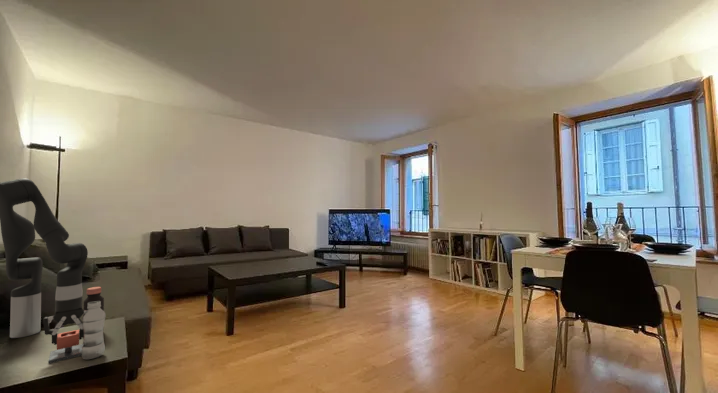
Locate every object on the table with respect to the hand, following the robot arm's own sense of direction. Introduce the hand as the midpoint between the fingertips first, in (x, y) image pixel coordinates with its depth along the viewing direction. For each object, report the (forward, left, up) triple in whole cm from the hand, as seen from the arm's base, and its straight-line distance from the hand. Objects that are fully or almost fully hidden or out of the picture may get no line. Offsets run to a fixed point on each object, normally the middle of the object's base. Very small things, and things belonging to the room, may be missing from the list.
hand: (68, 341), depth 117 cm
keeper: (0, 0, -5) cm, 5 cm away
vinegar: (-18, +8, -5) cm, 20 cm away
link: (0, 0, -1) cm, 1 cm away
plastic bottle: (+10, +7, -5) cm, 13 cm away
